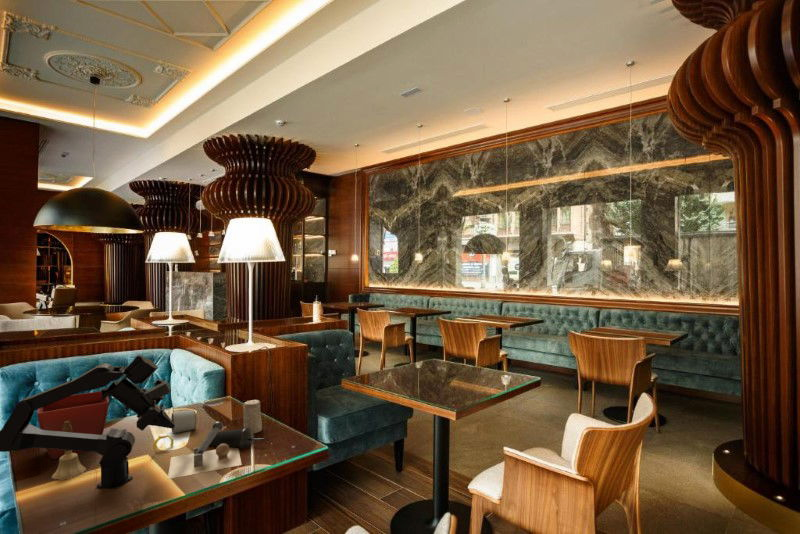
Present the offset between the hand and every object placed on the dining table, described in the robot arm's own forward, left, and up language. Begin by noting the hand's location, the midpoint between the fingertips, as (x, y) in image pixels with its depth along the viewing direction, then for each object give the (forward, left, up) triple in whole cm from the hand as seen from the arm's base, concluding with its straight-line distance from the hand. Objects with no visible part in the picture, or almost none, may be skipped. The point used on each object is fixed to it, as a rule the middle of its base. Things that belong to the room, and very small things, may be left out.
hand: (173, 426), depth 133 cm
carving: (+31, -8, -14) cm, 35 cm away
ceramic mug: (+31, +21, -14) cm, 40 cm away
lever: (+4, -5, -10) cm, 12 cm away
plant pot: (+10, +47, -14) cm, 50 cm away
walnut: (+8, -11, -12) cm, 18 cm away
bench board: (+5, -7, -14) cm, 16 cm away
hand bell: (-6, +32, -14) cm, 35 cm away
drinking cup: (+19, 0, -11) cm, 22 cm away
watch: (+12, +14, -14) cm, 23 cm away
